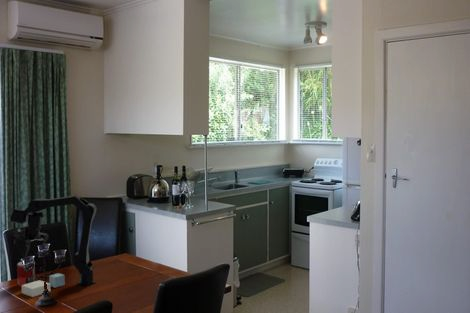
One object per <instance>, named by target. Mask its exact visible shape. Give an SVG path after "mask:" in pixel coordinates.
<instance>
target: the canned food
mask: <svg viewBox="0 0 470 313" xmlns="http://www.w3.org/2000/svg"><path fill="white" fill-rule="evenodd" d="M22 262H23V261H19V262H18V263H17V264H16V268H17V269H16V270H17V272H16V273H17V286H18V287H19V288H22V285H24V284H28V283H32V282H35V281H36V271H35V270H36V266H35V264H36V262H34V267H33V269H31V270H30V271H25V270H24V269H23V264H22Z"/></svg>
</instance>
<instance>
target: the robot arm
mask: <svg viewBox="0 0 470 313" xmlns="http://www.w3.org/2000/svg"><path fill="white" fill-rule="evenodd" d="M67 205H68V206H69V205H74V207H76V208H77V210H79V211H80V212H81V215H82V229H81V230H82V231H81V236H80V243H79V250H78V251H77V252H76V253H75V254H74V257H73V258H74V261H73V262H72V264H74V267H75V268H76V269H77V271H78V273H79V281H78V282H77V285H80V286H82V287H86V286H90V285H93V284H96V281H95V280H94V271H93V268H94V265H95V264H94V263H93V262H92V261H90V252H89V245H90V238H91V232H92V225H93V220H94V218H95V216H96V213H97V210H98V209H97V206H96V205H95V204H94V203H90V202H89V201H87V200H86V199H84V198H82V197H81V196H79V195H77V194H75V195H71V196H70V195H69V196H64V197H57V198H35V199H33V200H31V201H30V202H29V203H28V205H27V207H26V208H25V209H19V208H13V210H12V213H11V215H10V219H9V220H10V223H13V224H21V225H24V224H25V223H27V225H25V227H24V229H20V228H17V229H14V230H13V236H14V237H15V238H16V239H14V241H13V242H14V243H13V244H14V245H15V246H16V247H18V248H19V250H20V254H21V257H22V259H23V258H25V259H26V258H27V256H28V253H29V250H30V248H31V243H32V242H34V255H38V254H39V252H38V247H37V246H38V245H41V244H45V243H46V242H47V240H49V236H50V235H49V234H48V233H44V232H40V230H42V229H43V228H42V226H41V221H42V218H44V217H46V216H47V215H46V213H45V212H44V211H43V210H46V209H49V208H54V207H61V206H62V207H63V206H67ZM40 211H41V212H40ZM31 212H32V213H31Z"/></svg>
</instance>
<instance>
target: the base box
mask: <svg viewBox="0 0 470 313" xmlns="http://www.w3.org/2000/svg"><path fill="white" fill-rule="evenodd" d="M44 282H45V281H43V280H40V279H39V280H35V282H32V283H28V284H24V285H22V287H21V294H24V295H26V296H29V297H32V298H34V297H37V296H40V295H43V294H42V293H43V291H44ZM46 284H47V289H48V291H49V292H48V293H50V292H51V286H50V283H49V282H46Z"/></svg>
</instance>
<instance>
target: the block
mask: <svg viewBox="0 0 470 313" xmlns="http://www.w3.org/2000/svg"><path fill="white" fill-rule="evenodd" d="M48 278H49V279H48V280H49V281H48V283H50V287H52V288H59V287H62V286H63V287H64V286H65V284H66V283H65V280H66V278H65V274H63V273H60V272H59V273H55V274H51V275H49V277H48Z"/></svg>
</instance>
